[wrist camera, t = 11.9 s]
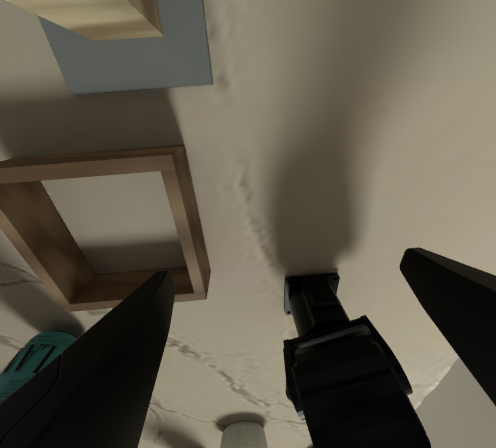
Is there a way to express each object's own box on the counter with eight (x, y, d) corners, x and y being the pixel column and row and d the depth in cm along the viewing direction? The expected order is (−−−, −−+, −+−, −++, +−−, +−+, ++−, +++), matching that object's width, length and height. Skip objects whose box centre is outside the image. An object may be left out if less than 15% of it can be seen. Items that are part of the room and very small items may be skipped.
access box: (210, 271, 24) (206, 299, 21) (89, 282, 24) (64, 312, 21) (184, 144, 17) (171, 154, 14) (13, 158, 17) (-43, 171, 14)
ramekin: (247, 414, 45) (248, 449, 40) (276, 427, 49) (280, 460, 45) (209, 429, 48) (206, 463, 43) (240, 440, 52) (240, 472, 48)
